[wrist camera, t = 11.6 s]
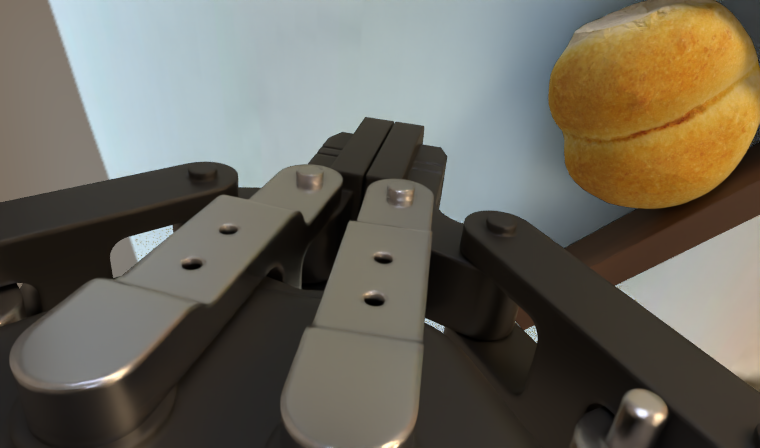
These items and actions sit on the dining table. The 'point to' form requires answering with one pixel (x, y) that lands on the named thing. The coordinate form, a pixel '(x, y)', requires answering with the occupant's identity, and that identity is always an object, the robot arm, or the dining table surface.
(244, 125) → the dining table surface
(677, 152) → the bread roll
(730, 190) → the corner guide
